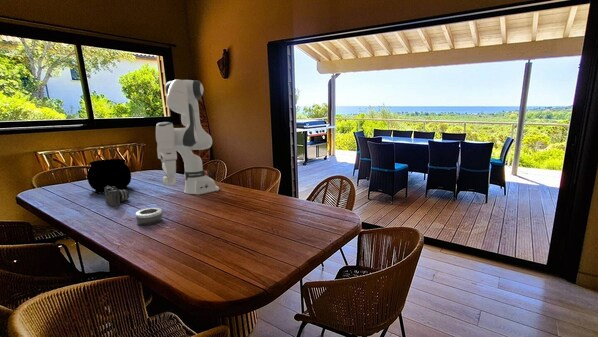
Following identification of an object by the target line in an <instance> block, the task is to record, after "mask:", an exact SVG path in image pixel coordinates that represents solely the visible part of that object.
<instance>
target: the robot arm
mask: <svg viewBox="0 0 598 337" xmlns="http://www.w3.org/2000/svg"><path fill="white" fill-rule="evenodd" d="M165 93H166V105H167V107H168V108H169V109H170V110H171V111H172V112H174V113H177V114H180V120H181V121H180V122H181V124H182V125H183V126H184V127H174V124H173V122H170V121H162V122H157V123H156V126H155V141H156V143H157V147H156V152H157V153H156V154H157V159H159V160H160V162H161V168H162V170H163V171H164V173H165V176H168V180H169V183H172V182H173V176H176V173H177V160H178V154H177V152H178V153H179V154H180V155H181V158H182V161H183V163H184V164H183V166H184V175H183V176H184V180H185V184H184V190H183V193H184V194H189V195H203V194H207V193H212V192H217V191H219V190H220V187H219V186H218V185H216V182H215V180H214V179H213V178H211V177H210V176H209V175H208V173H209V172H208V171H207V170H205V169H203V160H202V158H201V156H199V155H197V154H194V152H193V151H195V150H197V151H198V150H200V151H201V150H203V151H204V150H208V149H210V148H211V147H212V146H213V138H212V136H211V135H210V133H207V131H206V130H204V128H203V127H202V123H201V119H200V109H199V100H200V99H201V98H202V96H203V95H204V86H203V83H202V82H201V81H200V80H196V79H194V80H192V79H178V78H177V79H174V80H169V81H167V82H166V84H165Z"/></svg>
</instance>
